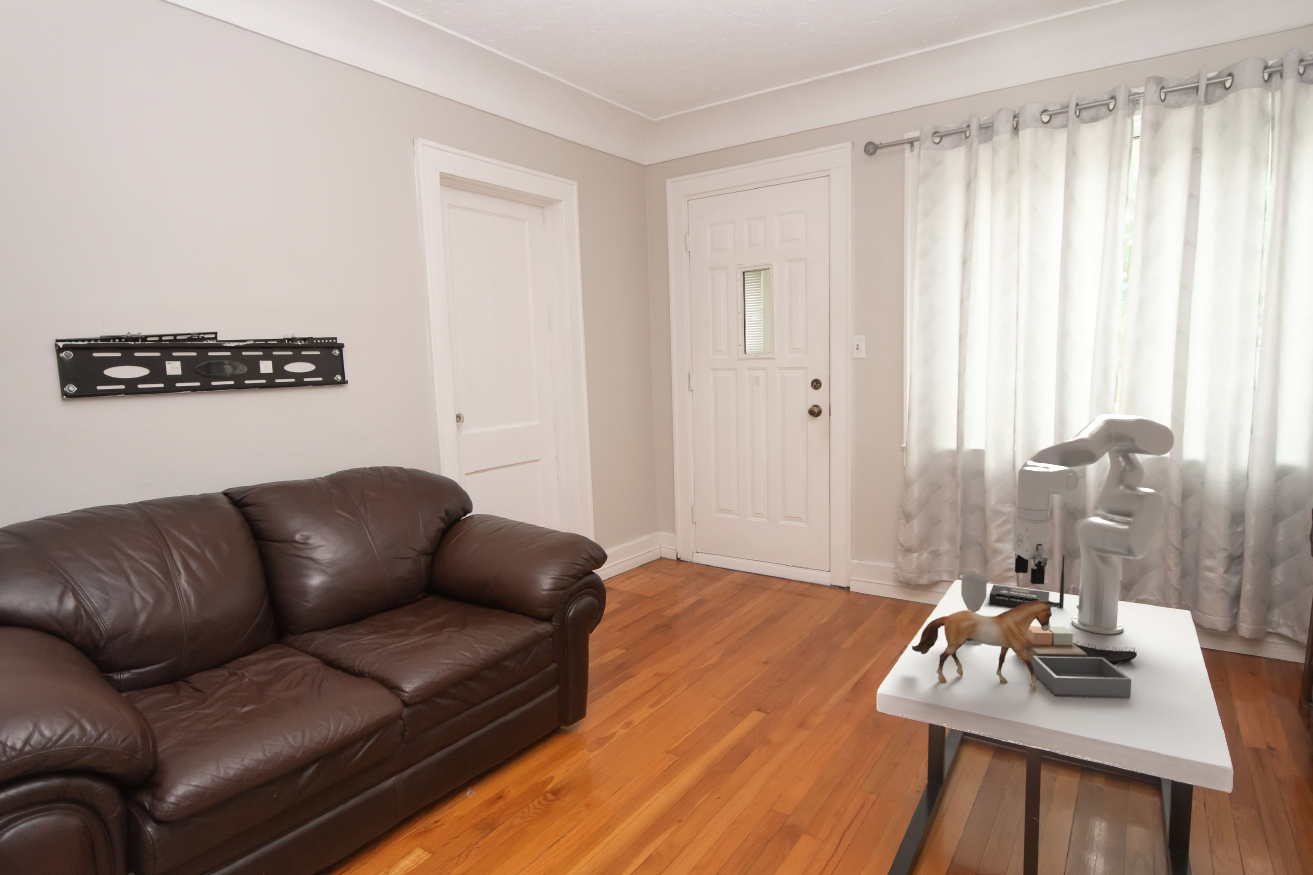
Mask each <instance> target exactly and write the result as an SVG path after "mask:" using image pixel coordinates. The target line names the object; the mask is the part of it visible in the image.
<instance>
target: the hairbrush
mask: <svg viewBox="0 0 1313 875" xmlns="http://www.w3.org/2000/svg"><path fill="white" fill-rule="evenodd" d="M1073 643H1074V644H1075V645H1076V646H1077V647H1079V648H1080V649H1081V650H1082V651H1084V652H1085V653H1086V654H1087V657H1103V658H1105V659H1106V660H1107V661H1108V662H1110V663H1111V664H1112V665H1117V664H1118V665H1119V664H1121V663H1127V662H1130V661H1132V660H1135V659H1136V658H1137V657H1138V654H1137V653H1138V652H1137V651H1136V649H1135V648H1134V647H1132V649H1133V650H1131V647H1130V646H1129V647H1127V646H1126V647H1125V649H1124V648H1121V647H1119V648H1118V647H1117V646H1116V647H1115V650H1114V647H1112V648H1111V649H1110V646H1109V645H1105V648H1104V647H1100V646H1101V645H1100V644H1098V646H1093V645H1094V644H1091V646H1090V643H1088V644H1087V643H1085V644H1084V645H1082V644H1079V642H1078V641H1076V642H1073ZM1086 644H1087V645H1088V646H1087V645H1086ZM1117 649H1118V650H1117Z"/></svg>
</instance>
